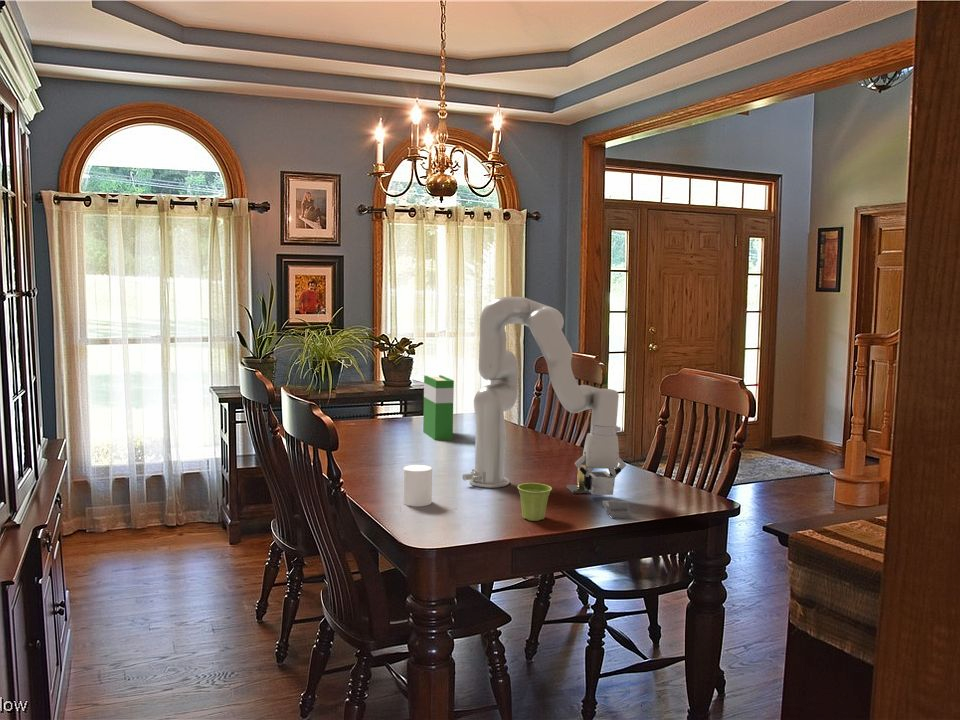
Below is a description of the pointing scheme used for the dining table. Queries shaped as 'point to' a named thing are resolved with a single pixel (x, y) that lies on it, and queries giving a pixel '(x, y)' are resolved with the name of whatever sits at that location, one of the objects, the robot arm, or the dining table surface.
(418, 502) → the white cylinder
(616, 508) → the grey boxy piece
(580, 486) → the yellow peg stand
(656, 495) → the dining table surface
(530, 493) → the plant pot
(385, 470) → the dining table surface
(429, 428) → the hardback book
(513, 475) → the dining table surface
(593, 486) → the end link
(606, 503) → the slack link
